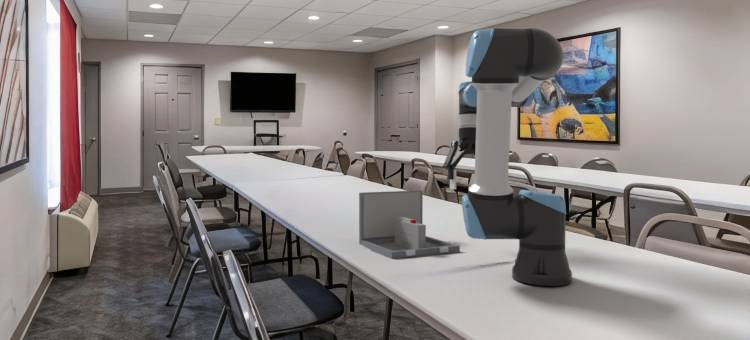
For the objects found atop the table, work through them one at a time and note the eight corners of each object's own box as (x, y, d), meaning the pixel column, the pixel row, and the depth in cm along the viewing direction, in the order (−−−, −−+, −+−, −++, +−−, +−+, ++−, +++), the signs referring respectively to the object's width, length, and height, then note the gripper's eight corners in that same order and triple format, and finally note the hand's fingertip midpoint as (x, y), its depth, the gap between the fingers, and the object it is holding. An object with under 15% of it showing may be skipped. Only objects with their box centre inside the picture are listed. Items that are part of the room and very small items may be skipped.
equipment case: (460, 252, 162) (461, 195, 161) (392, 259, 151) (392, 198, 150) (420, 240, 184) (421, 190, 183) (359, 245, 173) (359, 192, 172)
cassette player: (425, 253, 160) (425, 221, 160) (418, 254, 159) (418, 222, 159) (401, 245, 174) (401, 216, 174) (394, 245, 173) (394, 216, 173)
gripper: (491, 128, 185) (491, 187, 185) (433, 126, 174) (432, 188, 174) (505, 127, 178) (505, 188, 179) (445, 125, 167) (445, 190, 168)
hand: (469, 188), depth 177 cm, fingers open, 13 cm apart
